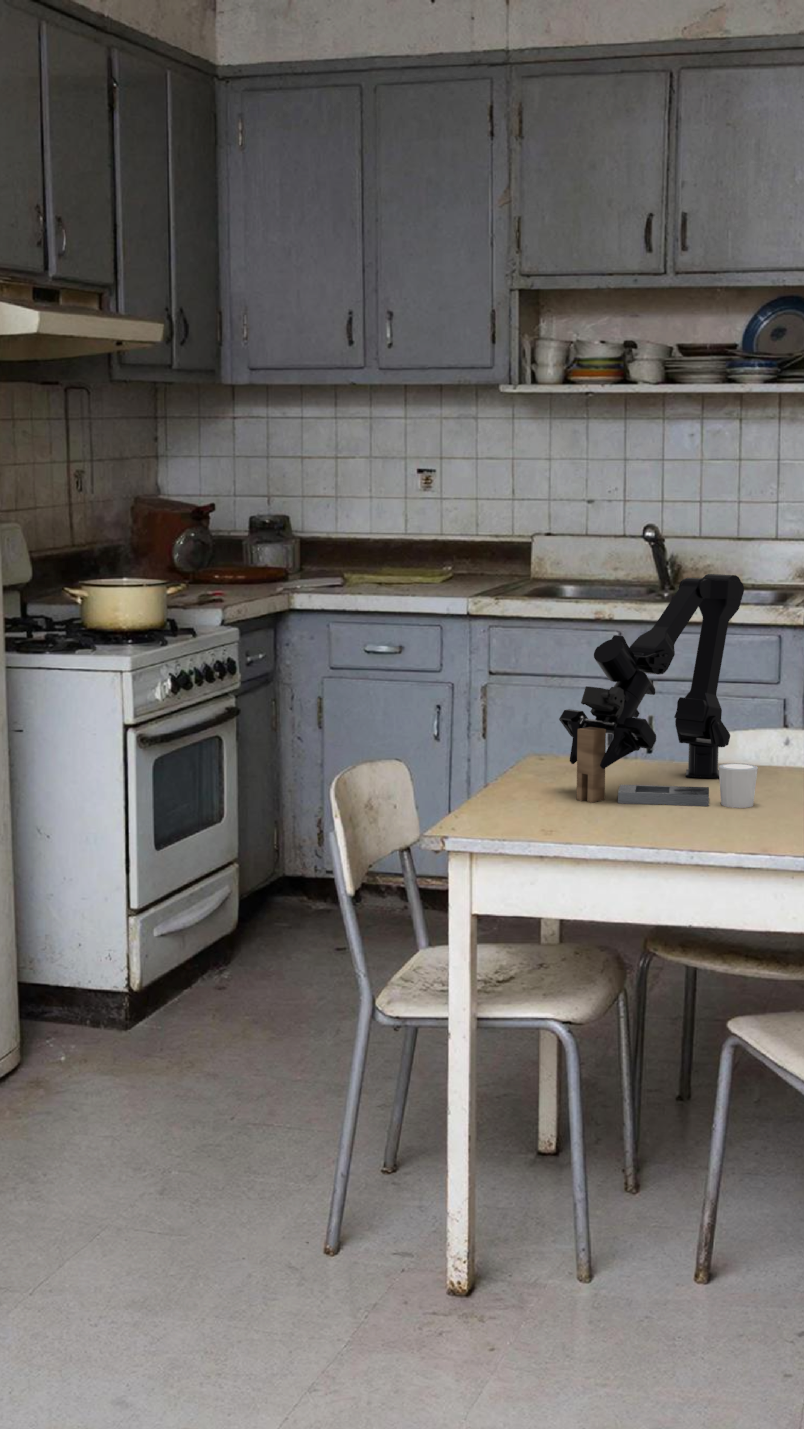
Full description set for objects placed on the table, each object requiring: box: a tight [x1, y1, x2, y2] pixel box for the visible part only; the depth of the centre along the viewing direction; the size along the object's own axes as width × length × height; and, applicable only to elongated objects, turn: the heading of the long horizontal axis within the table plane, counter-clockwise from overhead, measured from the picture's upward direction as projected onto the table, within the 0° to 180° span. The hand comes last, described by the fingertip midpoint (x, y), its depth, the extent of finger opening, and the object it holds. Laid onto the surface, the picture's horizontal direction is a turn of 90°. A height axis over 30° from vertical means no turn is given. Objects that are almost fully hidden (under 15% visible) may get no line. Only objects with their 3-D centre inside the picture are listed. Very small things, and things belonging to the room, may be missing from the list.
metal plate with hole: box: [617, 784, 710, 807], centre depth 303 cm, size 8×16×2 cm, turn 80°
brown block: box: [576, 727, 607, 804], centre depth 303 cm, size 4×4×13 cm
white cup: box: [718, 762, 758, 809], centre depth 299 cm, size 7×7×7 cm
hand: (586, 764), depth 302 cm, fingers open, 7 cm apart
